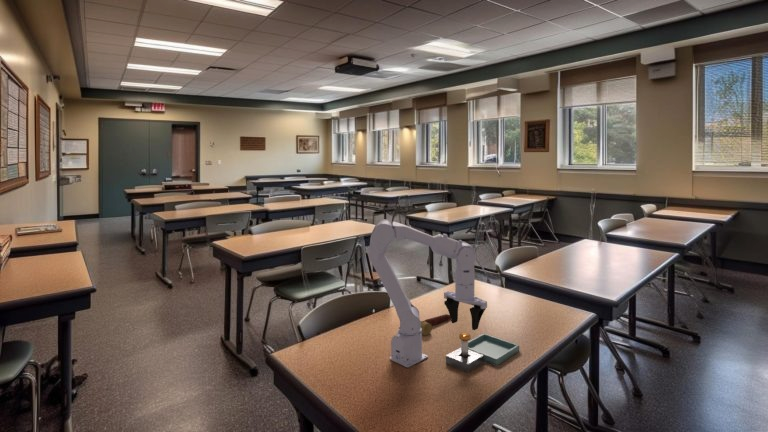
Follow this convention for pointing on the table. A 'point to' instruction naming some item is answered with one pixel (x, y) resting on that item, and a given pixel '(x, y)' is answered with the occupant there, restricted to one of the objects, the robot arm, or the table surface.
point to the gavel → (432, 323)
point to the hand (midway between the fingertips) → (464, 325)
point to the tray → (492, 348)
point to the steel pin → (464, 344)
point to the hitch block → (464, 360)
